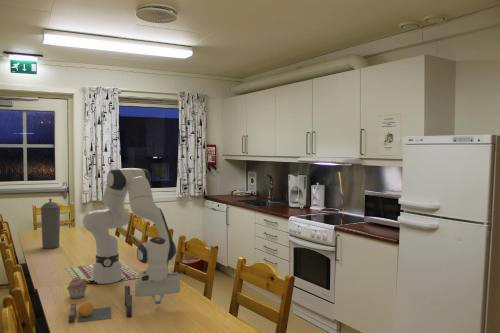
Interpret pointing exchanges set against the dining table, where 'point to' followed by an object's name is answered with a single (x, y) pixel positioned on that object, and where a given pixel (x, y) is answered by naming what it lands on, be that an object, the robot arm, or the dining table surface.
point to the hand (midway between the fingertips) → (157, 303)
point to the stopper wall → (72, 313)
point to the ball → (85, 309)
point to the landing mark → (97, 315)
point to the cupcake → (77, 287)
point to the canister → (50, 224)
